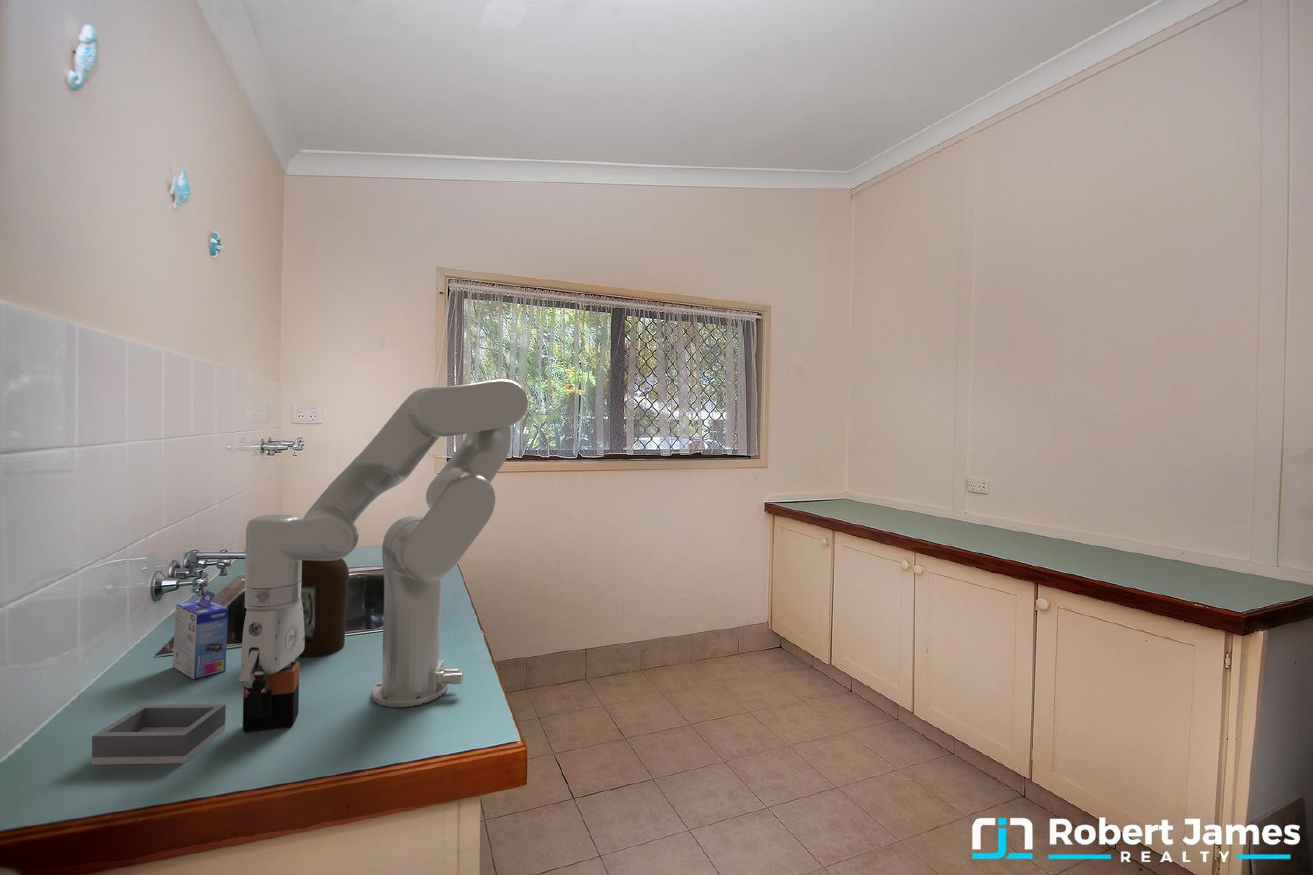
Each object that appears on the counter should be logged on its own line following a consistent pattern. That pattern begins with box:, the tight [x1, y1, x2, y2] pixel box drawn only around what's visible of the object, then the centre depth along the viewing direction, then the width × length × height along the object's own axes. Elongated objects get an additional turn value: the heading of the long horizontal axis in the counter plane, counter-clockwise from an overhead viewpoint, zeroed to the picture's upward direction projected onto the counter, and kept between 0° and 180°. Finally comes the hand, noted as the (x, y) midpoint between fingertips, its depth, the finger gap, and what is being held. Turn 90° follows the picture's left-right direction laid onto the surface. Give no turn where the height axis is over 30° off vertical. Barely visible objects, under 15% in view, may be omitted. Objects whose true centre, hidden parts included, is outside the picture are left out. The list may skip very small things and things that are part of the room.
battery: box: [242, 661, 300, 734], centre depth 94 cm, size 4×7×10 cm, turn 110°
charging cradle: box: [91, 703, 227, 766], centre depth 87 cm, size 12×9×4 cm
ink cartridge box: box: [172, 590, 229, 680], centre depth 112 cm, size 10×6×14 cm, turn 58°
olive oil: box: [298, 558, 350, 658], centre depth 124 cm, size 11×11×25 cm
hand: (271, 705), depth 94 cm, fingers open, 5 cm apart
